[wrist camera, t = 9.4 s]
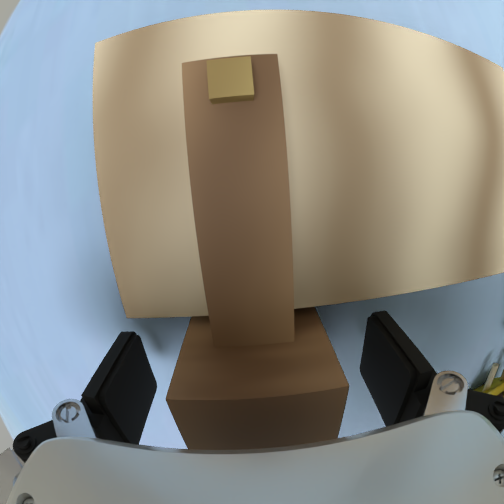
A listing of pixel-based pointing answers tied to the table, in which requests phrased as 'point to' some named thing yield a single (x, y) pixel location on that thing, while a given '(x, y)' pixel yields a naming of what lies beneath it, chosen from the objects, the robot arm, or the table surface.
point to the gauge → (248, 275)
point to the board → (309, 156)
